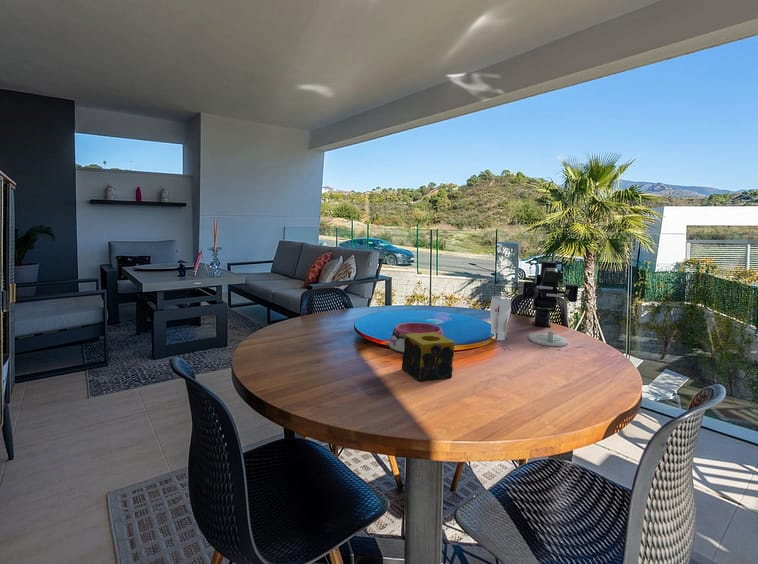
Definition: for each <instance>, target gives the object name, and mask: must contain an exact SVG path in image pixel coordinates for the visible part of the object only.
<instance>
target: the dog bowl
mask: <svg viewBox="0 0 758 564" xmlns="http://www.w3.org/2000/svg"><path fill="white" fill-rule="evenodd" d="M430 332H436V333H438V334H440V335H442V336H444V337H445V335H444V331H443V328H442V327H441V326H439V325H435V324H432V323H425V322H402V323H398V324H396V325H395V326H394V328H393V330H392V334H391V338H390V341H389V344H388V348H389V349H390V350H391V351H392V352H396V353H399V354H401V355H403V353H404V334H414V333H430Z"/></svg>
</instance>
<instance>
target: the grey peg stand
mask: <svg viewBox="0 0 758 564" xmlns="http://www.w3.org/2000/svg"><path fill="white" fill-rule="evenodd" d="M528 340H529V341H530V342H531V343H534V344H538V345H542V346H546V347H559V348H560V347H566V346H568V345H569V339H568V338H566V337H564V336H561V335H558V334H554V331H548V333H545V332H544V333H543V332H542V333H541V332H535V333H533V332H532V333H529V335H528Z"/></svg>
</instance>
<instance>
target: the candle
mask: <svg viewBox="0 0 758 564" xmlns="http://www.w3.org/2000/svg"><path fill="white" fill-rule="evenodd" d="M455 344H456V343H455V341H454V340H452V339H450V338H448V337H446V336H445V335H444V336H442V335H440V334H438V333H436V332H430V333H414V334H404V353H403V354H402V361H401V362H402V363H401V369H402V370H403V371H404V372H405V373H407V374H408V375H409V376H411V377H412V378H414V379H415V380H416V381H417V382H421V383H422V382H430V381H437V380H438V381H439V380H444V379H452V378H453V370H454V369H453V361H454V356H455V355H454V354H455Z"/></svg>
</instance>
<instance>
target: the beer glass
mask: <svg viewBox="0 0 758 564" xmlns="http://www.w3.org/2000/svg"><path fill="white" fill-rule="evenodd" d="M489 309H490V311H489V312H490V315H489V316H490V323H491V324H490V325H491V329H490V333H492V334H494V335H495V338H494V341H498V342H499V341H500V342H505V341H507V340H508V334H507V333H508V332H507V329H508V324H509V321H510V317H511V313H512V297H510V296H506V295H505V296H504V295H492V296H491V301H490V307H489Z"/></svg>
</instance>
